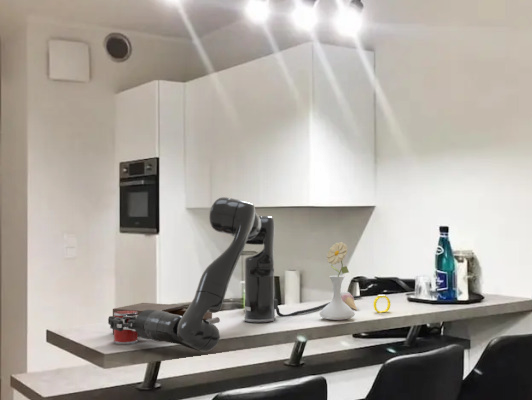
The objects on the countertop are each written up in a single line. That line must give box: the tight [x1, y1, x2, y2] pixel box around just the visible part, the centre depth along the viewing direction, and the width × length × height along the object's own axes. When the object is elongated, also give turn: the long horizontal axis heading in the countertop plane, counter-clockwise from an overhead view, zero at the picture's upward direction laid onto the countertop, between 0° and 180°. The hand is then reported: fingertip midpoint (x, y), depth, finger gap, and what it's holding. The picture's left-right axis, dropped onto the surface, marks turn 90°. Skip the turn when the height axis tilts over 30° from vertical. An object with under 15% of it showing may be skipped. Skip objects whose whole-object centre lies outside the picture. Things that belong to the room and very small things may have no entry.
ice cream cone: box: [341, 290, 358, 311], centre depth 253 cm, size 5×5×15 cm
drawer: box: [168, 309, 221, 325], centre depth 199 cm, size 18×12×5 cm
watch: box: [373, 294, 392, 314], centre depth 241 cm, size 6×3×6 cm, turn 115°
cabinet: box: [112, 302, 185, 337], centre depth 204 cm, size 15×14×7 cm
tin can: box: [113, 311, 139, 345], centre depth 189 cm, size 6×6×8 cm
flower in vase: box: [319, 241, 356, 321], centre depth 226 cm, size 13×11×25 cm
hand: (120, 318), depth 191 cm, fingers closed on tin can, 6 cm apart
